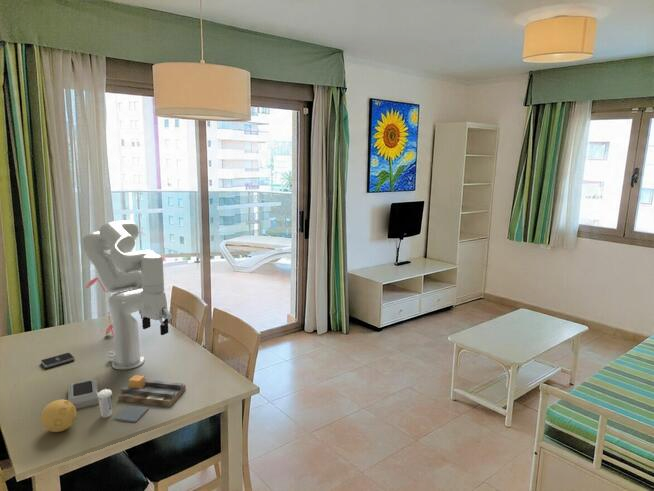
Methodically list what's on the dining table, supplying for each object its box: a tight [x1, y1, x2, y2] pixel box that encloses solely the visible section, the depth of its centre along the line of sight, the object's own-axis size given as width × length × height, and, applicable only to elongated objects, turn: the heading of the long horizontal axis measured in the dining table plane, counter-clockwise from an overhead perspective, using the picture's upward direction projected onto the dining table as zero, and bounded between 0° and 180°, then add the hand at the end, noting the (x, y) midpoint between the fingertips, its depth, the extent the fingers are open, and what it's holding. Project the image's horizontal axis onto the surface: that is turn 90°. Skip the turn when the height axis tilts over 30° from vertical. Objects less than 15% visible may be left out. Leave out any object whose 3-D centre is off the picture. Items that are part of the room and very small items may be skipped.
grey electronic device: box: [67, 378, 99, 410], centre depth 164 cm, size 10×4×15 cm
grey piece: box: [117, 379, 187, 407], centre depth 167 cm, size 20×12×4 cm, turn 81°
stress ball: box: [40, 399, 77, 433], centre depth 144 cm, size 10×10×10 cm
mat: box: [113, 405, 150, 423], centre depth 154 cm, size 8×8×1 cm
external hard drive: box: [40, 352, 75, 370], centre depth 190 cm, size 7×11×2 cm, turn 136°
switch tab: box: [128, 374, 146, 389], centre depth 167 cm, size 4×4×4 cm
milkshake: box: [95, 388, 113, 419], centre depth 153 cm, size 4×5×10 cm
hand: (155, 330), depth 169 cm, fingers open, 9 cm apart
